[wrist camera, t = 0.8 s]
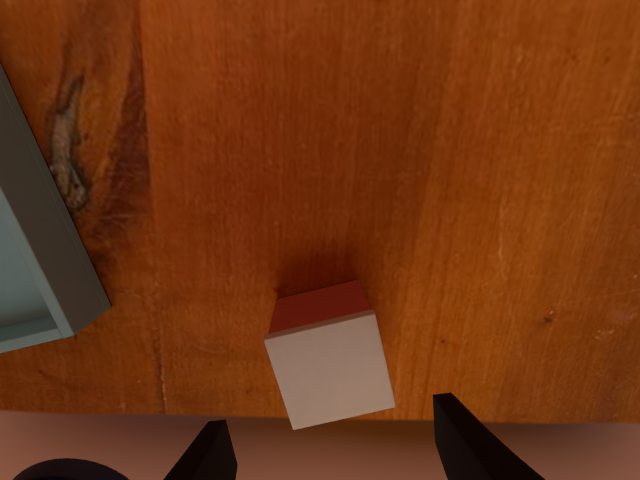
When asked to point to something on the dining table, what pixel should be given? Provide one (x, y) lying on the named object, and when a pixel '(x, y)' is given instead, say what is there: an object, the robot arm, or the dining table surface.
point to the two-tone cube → (328, 355)
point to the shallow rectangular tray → (38, 244)
